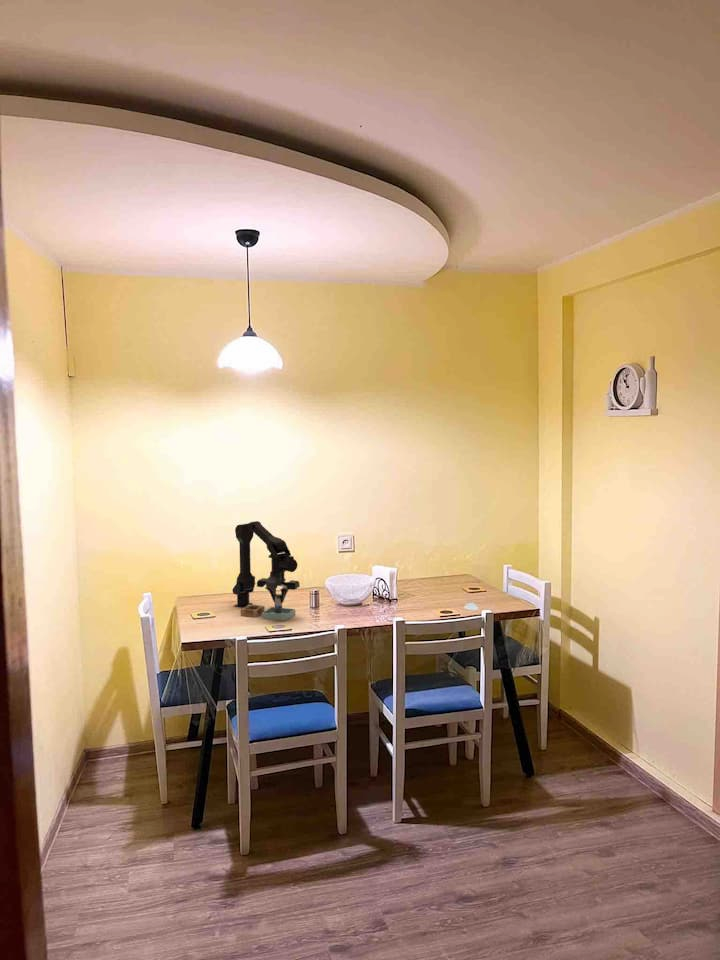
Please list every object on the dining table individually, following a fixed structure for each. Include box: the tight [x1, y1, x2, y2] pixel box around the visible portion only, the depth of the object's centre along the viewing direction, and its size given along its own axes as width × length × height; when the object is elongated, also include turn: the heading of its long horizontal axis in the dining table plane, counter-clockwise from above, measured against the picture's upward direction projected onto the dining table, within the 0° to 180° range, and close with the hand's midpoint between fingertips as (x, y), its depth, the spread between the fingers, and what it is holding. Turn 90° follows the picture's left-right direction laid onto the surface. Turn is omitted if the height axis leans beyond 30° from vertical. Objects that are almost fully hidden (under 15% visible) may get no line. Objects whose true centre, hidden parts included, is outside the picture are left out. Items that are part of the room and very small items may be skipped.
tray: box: [261, 606, 296, 622], centre depth 297 cm, size 10×12×3 cm
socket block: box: [240, 604, 266, 618], centre depth 301 cm, size 8×8×3 cm
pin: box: [274, 593, 283, 613], centre depth 297 cm, size 3×3×8 cm
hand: (278, 602), depth 297 cm, fingers closed on pin, 3 cm apart
